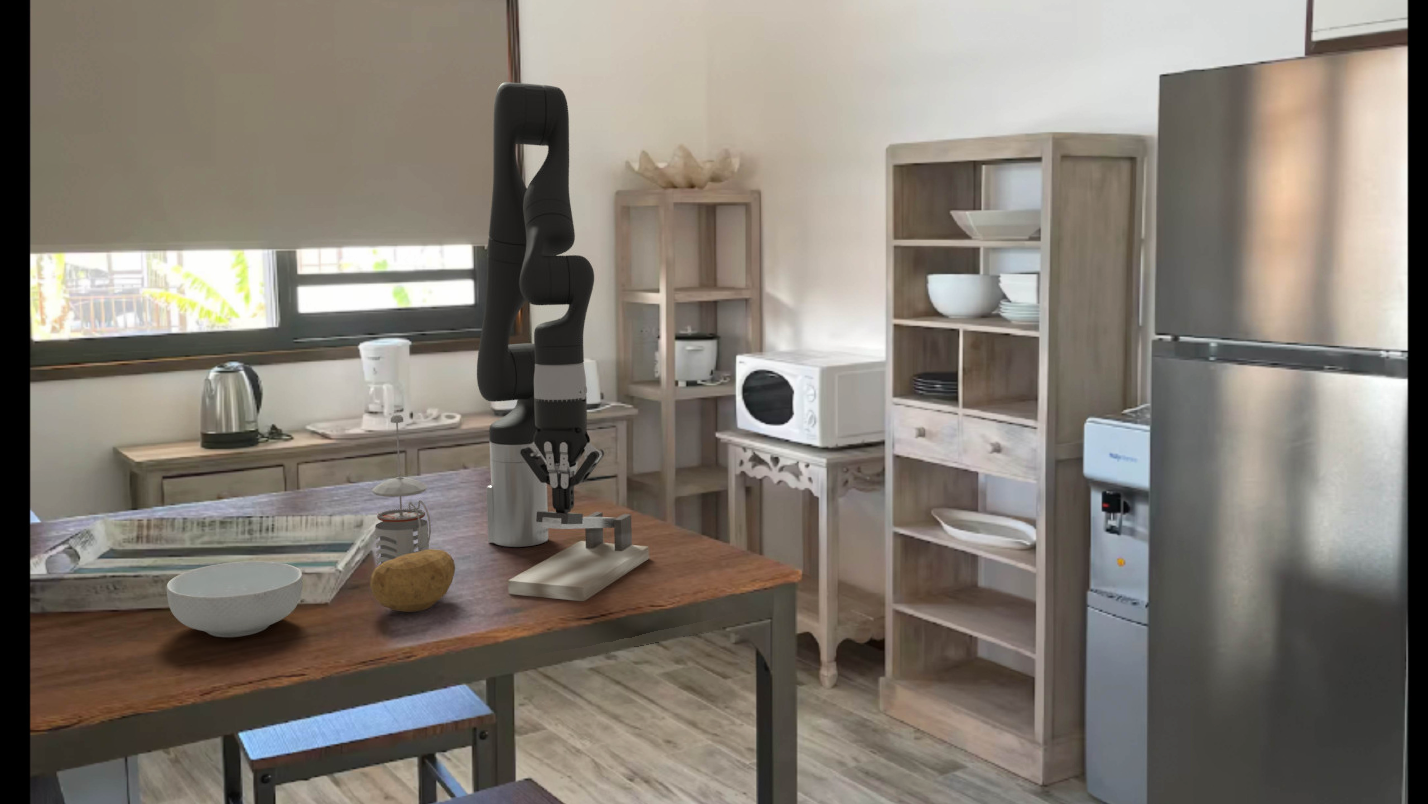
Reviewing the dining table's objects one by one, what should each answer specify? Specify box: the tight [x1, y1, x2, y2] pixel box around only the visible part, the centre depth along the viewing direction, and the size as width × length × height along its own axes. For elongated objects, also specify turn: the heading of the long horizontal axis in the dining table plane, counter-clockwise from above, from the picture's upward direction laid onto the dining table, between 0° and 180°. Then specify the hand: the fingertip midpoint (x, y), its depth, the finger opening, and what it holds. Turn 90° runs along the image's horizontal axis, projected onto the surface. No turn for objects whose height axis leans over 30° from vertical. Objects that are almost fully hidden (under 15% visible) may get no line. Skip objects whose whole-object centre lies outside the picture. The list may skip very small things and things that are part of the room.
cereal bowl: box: [166, 560, 303, 638], centre depth 171 cm, size 17×17×7 cm
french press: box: [371, 414, 432, 565], centre depth 193 cm, size 10×12×25 cm
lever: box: [536, 511, 617, 530], centre depth 194 cm, size 5×21×2 cm, turn 160°
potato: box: [369, 548, 456, 613], centre depth 179 cm, size 10×14×8 cm
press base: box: [507, 511, 650, 602], centre depth 194 cm, size 12×24×7 cm, turn 160°
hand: (563, 512), depth 187 cm, fingers closed
